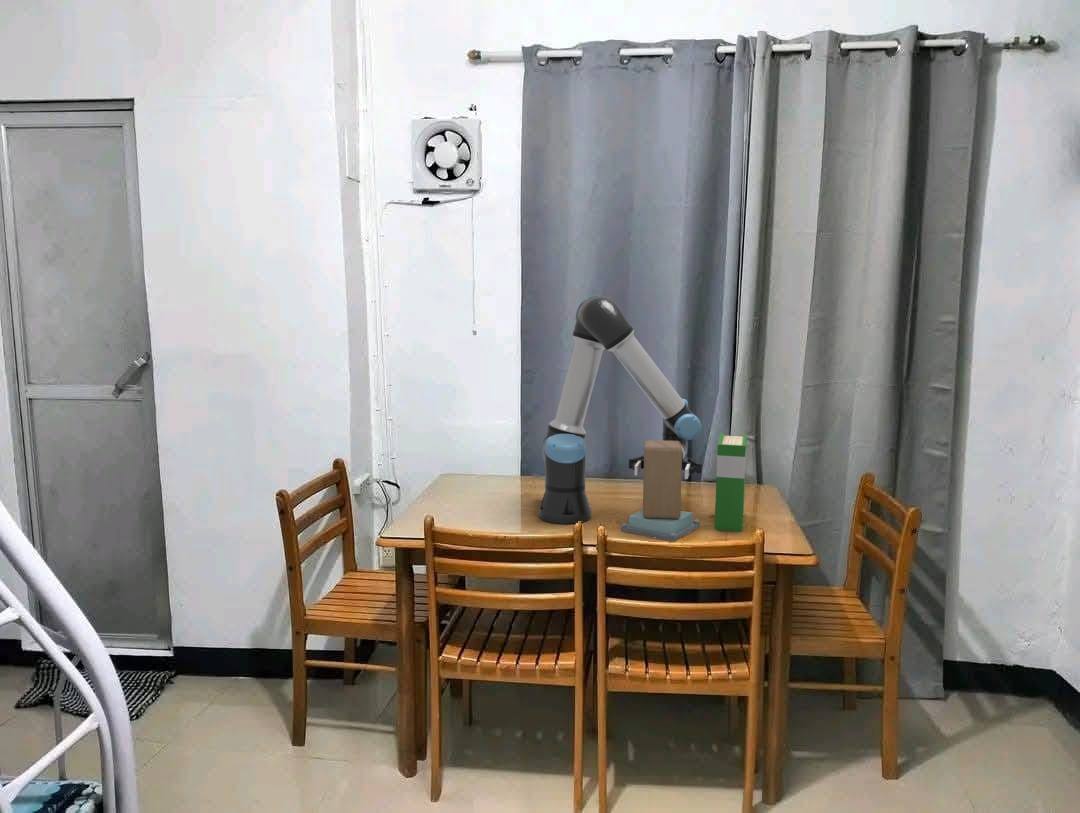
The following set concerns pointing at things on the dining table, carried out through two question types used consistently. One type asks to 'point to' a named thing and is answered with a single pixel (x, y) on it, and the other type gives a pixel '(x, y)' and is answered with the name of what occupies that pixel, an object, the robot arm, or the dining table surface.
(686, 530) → the base plate
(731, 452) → the hardback book
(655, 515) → the wooden block
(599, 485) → the dining table surface
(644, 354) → the robot arm
